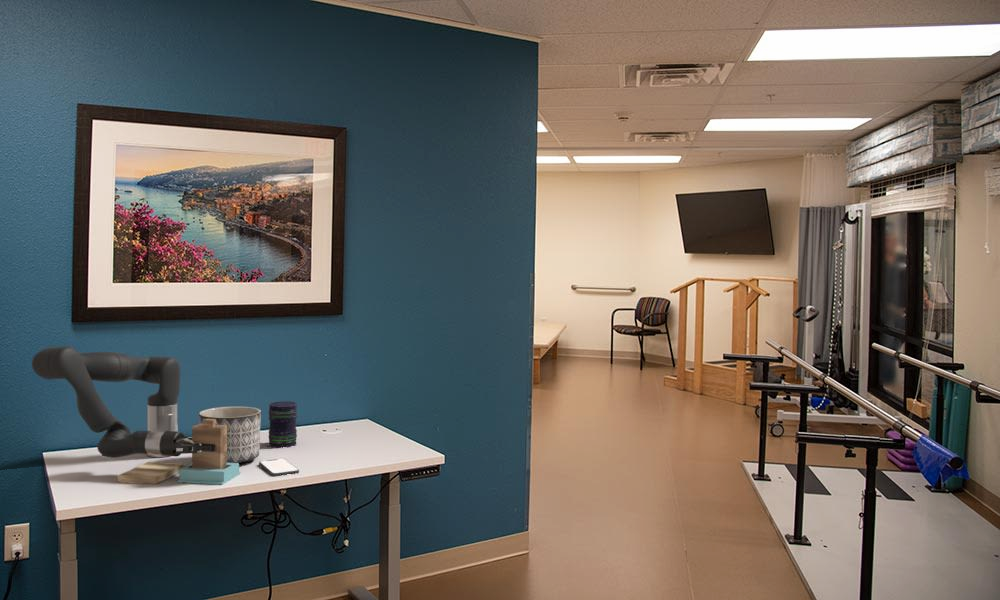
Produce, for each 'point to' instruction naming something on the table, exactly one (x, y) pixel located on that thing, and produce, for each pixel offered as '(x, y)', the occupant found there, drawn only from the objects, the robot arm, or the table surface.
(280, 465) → the phone case
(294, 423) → the storage jar
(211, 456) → the brown wooden bottle
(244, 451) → the planter
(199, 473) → the teal rack
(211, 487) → the table surface
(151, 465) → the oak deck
